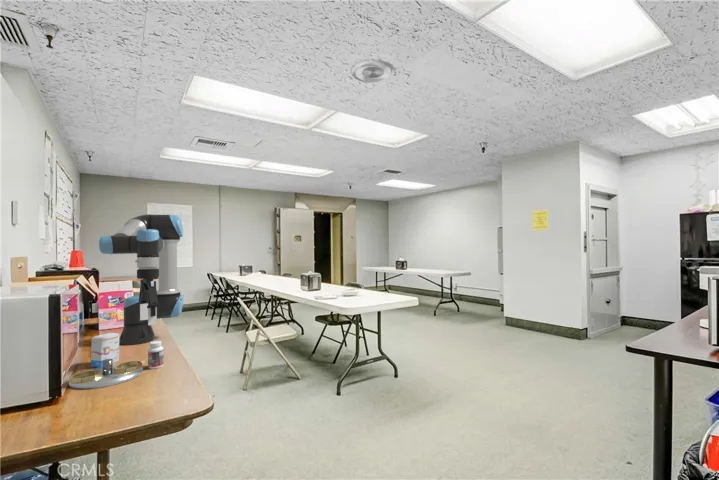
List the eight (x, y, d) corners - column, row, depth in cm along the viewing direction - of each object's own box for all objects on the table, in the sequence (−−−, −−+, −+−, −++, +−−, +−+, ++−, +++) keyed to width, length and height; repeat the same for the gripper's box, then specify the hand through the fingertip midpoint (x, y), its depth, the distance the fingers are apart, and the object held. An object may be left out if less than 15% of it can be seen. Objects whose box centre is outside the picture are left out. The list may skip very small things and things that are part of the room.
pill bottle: (145, 369, 135) (144, 344, 135) (152, 364, 140) (152, 340, 141) (159, 369, 135) (159, 343, 135) (166, 364, 141) (166, 340, 141)
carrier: (98, 367, 138) (98, 351, 138) (154, 365, 139) (154, 350, 139) (51, 390, 116) (51, 371, 116) (118, 388, 117) (118, 369, 117)
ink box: (100, 367, 137) (100, 337, 138) (90, 367, 138) (90, 337, 139) (119, 360, 146) (119, 332, 146) (109, 360, 147) (109, 332, 147)
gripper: (130, 267, 144) (130, 319, 143) (144, 269, 126) (144, 328, 125) (151, 267, 149) (151, 316, 148) (167, 268, 131) (167, 325, 130)
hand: (148, 322), depth 137 cm, fingers open, 13 cm apart
